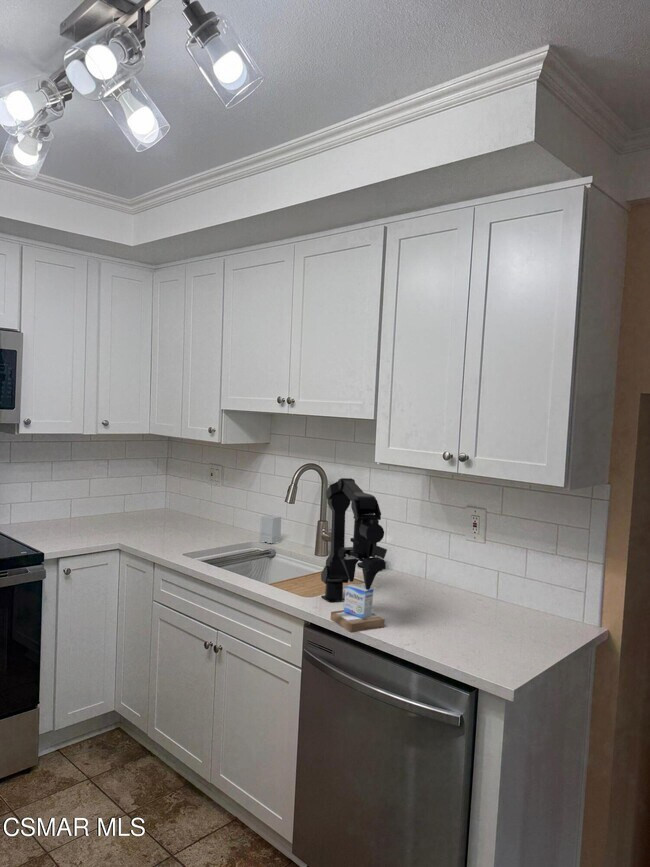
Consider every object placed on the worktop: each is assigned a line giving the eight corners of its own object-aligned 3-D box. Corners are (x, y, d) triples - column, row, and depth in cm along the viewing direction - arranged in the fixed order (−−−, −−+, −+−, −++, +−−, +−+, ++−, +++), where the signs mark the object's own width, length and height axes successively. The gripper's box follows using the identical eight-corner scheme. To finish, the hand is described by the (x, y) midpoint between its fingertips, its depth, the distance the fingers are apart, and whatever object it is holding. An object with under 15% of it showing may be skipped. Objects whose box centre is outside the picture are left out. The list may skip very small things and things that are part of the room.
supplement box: (280, 542, 308) (282, 516, 308) (271, 544, 302) (272, 518, 301) (268, 540, 312) (269, 514, 311) (259, 542, 306) (260, 516, 305)
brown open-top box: (330, 619, 200) (331, 610, 199) (362, 615, 206) (362, 606, 206) (351, 632, 189) (351, 623, 189) (383, 627, 195) (384, 618, 195)
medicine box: (343, 612, 198) (344, 585, 198) (351, 609, 202) (353, 583, 201) (363, 619, 193) (365, 591, 193) (372, 616, 197) (373, 588, 196)
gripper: (401, 540, 193) (398, 591, 193) (367, 528, 209) (364, 575, 210) (371, 542, 187) (368, 595, 188) (338, 530, 203) (335, 578, 204)
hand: (359, 585), depth 197 cm, fingers open, 9 cm apart
